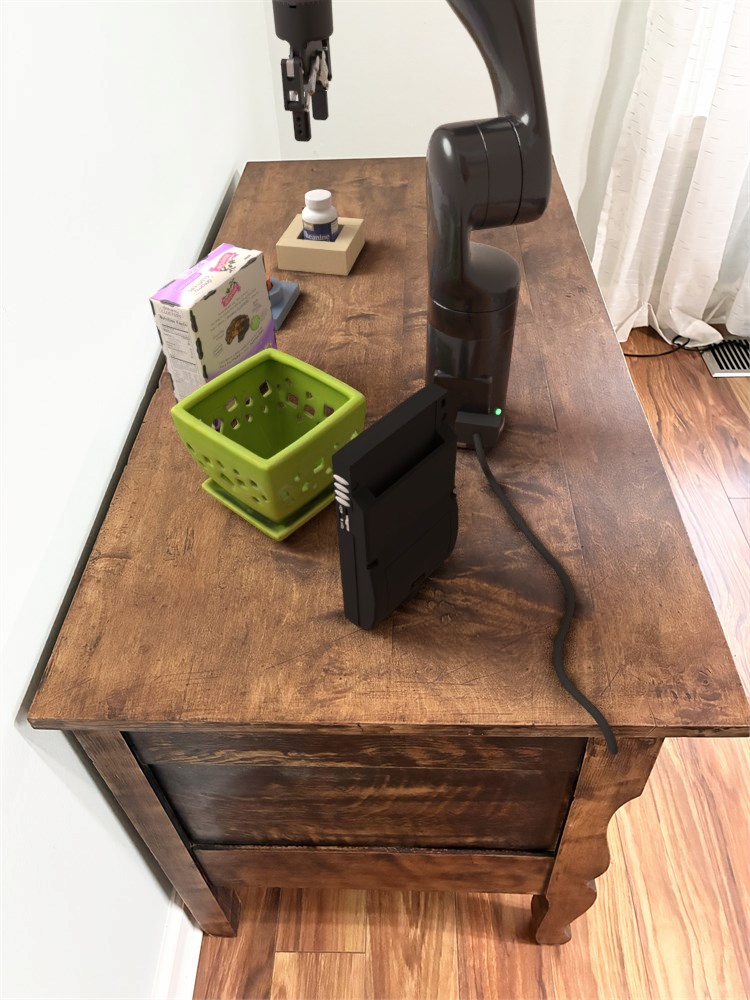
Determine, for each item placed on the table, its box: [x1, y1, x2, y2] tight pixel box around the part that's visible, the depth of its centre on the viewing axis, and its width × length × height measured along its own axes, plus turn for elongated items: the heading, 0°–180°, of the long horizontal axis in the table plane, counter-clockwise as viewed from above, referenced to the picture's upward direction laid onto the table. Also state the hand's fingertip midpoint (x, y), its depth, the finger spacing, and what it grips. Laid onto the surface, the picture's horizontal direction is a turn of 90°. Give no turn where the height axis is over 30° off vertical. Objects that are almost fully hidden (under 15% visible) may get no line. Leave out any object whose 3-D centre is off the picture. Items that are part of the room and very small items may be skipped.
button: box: [266, 272, 271, 290], centre depth 105 cm, size 3×3×2 cm
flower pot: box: [170, 348, 367, 542], centre depth 76 cm, size 14×14×13 cm
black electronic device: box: [332, 382, 460, 630], centre depth 64 cm, size 12×5×20 cm, turn 139°
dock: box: [275, 213, 366, 276], centre depth 117 cm, size 11×11×4 cm
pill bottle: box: [301, 188, 339, 242], centre depth 115 cm, size 5×5×10 cm
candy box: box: [148, 242, 278, 431], centre depth 88 cm, size 14×6×16 cm, turn 152°
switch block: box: [269, 275, 301, 331], centre depth 107 cm, size 10×8×4 cm
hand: (312, 129), depth 106 cm, fingers open, 8 cm apart
